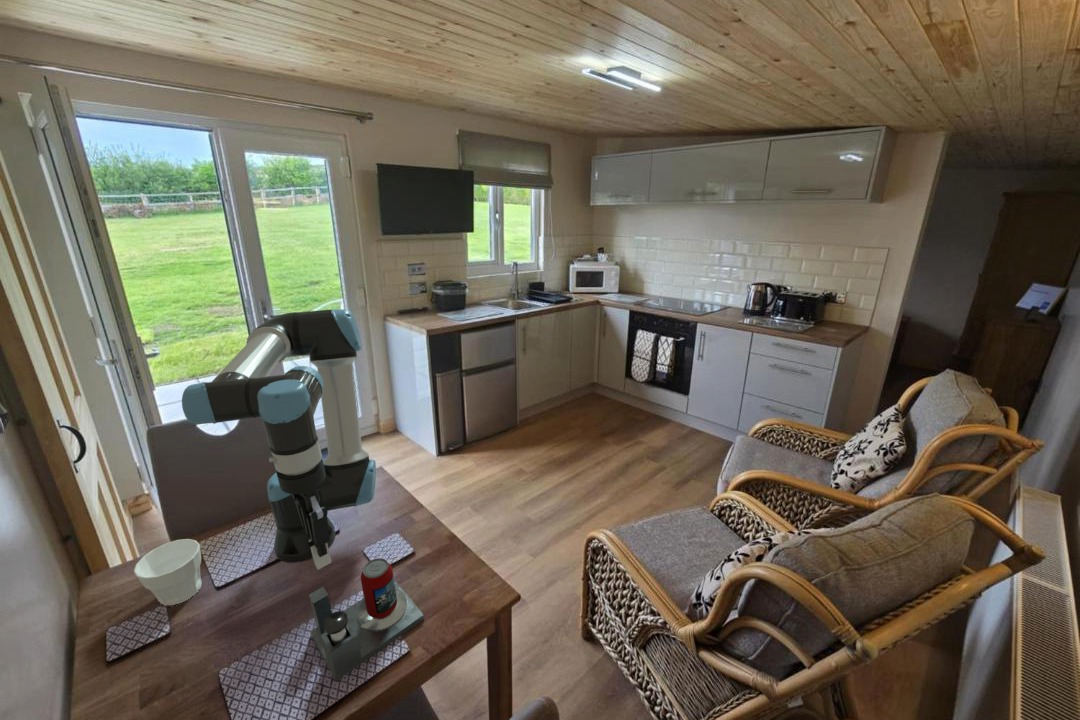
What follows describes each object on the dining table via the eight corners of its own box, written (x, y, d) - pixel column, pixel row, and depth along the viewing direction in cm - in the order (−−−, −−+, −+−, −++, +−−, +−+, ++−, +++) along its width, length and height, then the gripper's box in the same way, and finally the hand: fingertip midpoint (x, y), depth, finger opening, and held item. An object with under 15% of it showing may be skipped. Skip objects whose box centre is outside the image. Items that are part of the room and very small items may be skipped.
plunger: (327, 652, 93) (320, 620, 90) (348, 638, 96) (342, 607, 93) (336, 667, 90) (328, 635, 87) (357, 652, 93) (350, 620, 90)
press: (310, 634, 100) (301, 598, 96) (394, 583, 113) (388, 550, 109) (335, 681, 90) (326, 644, 86) (424, 619, 103) (419, 584, 99)
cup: (222, 582, 114) (210, 547, 110) (167, 622, 103) (152, 585, 99) (193, 566, 118) (181, 532, 115) (137, 603, 108) (122, 567, 104)
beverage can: (389, 622, 100) (382, 581, 96) (361, 618, 101) (353, 577, 97) (402, 597, 106) (396, 557, 102) (376, 593, 108) (369, 554, 103)
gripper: (265, 458, 83) (292, 556, 91) (289, 490, 74) (316, 595, 83) (308, 442, 88) (329, 537, 96) (334, 470, 79) (355, 572, 88)
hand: (323, 563), depth 89 cm, fingers closed
